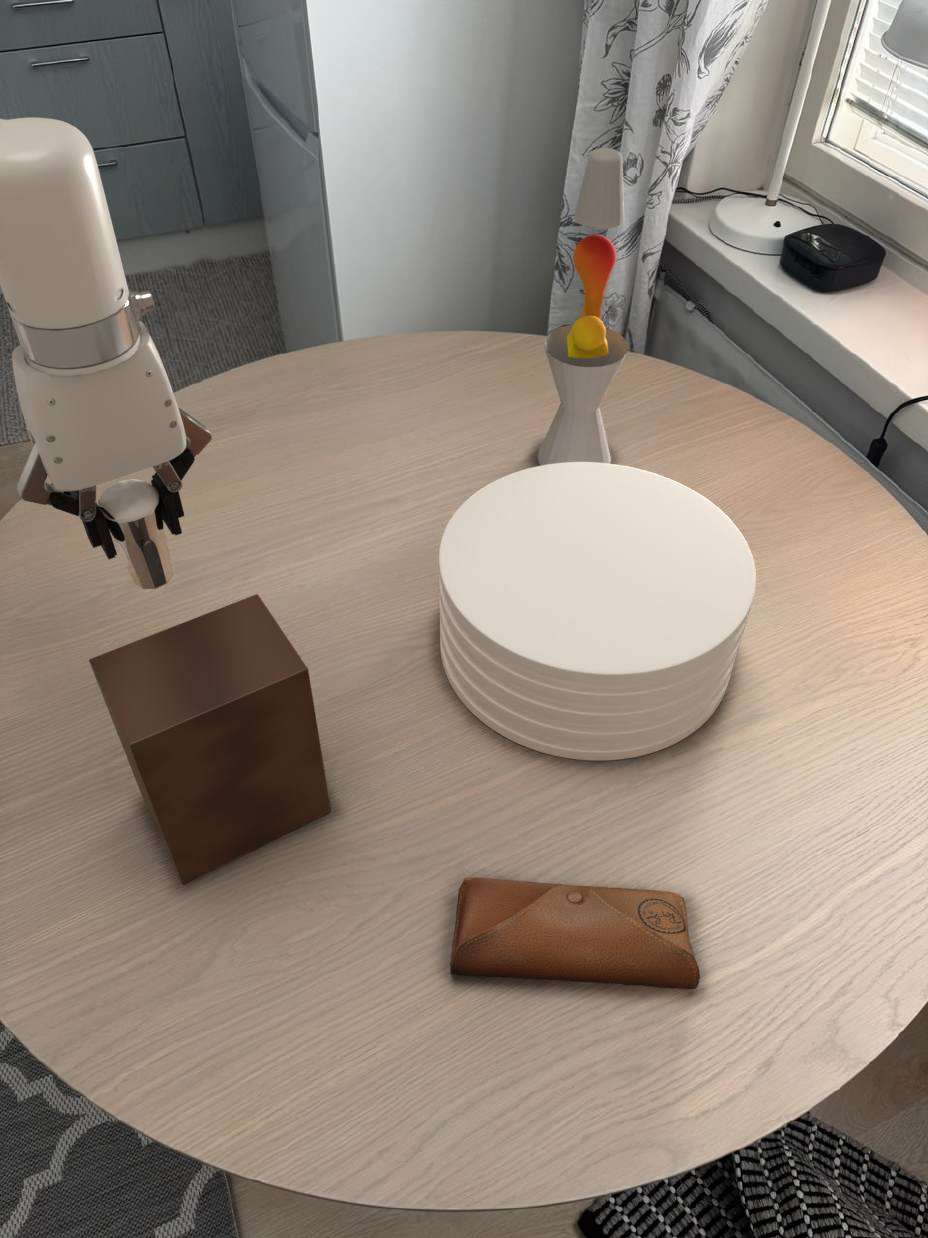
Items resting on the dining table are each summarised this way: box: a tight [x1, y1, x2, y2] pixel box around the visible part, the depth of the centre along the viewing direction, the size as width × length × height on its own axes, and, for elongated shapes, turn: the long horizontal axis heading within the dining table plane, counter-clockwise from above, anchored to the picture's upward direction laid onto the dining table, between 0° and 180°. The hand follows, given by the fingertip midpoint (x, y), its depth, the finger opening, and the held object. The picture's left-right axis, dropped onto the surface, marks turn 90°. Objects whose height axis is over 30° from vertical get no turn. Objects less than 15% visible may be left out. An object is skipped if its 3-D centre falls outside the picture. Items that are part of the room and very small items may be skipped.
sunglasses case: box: [449, 877, 701, 990], centre depth 74 cm, size 18×7×7 cm
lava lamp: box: [537, 147, 629, 466], centre depth 105 cm, size 9×9×35 cm
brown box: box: [88, 593, 332, 885], centre depth 77 cm, size 13×10×18 cm
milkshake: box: [97, 478, 174, 590], centre depth 78 cm, size 4×5×10 cm
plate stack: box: [438, 462, 757, 762], centre depth 93 cm, size 28×28×12 cm
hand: (139, 534), depth 79 cm, fingers closed on milkshake, 4 cm apart
